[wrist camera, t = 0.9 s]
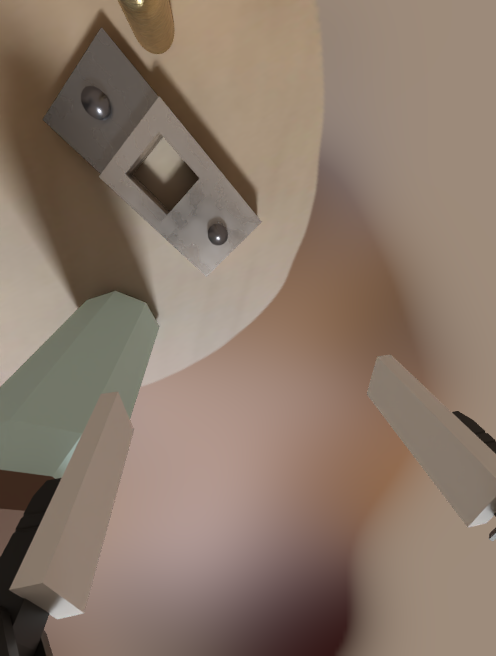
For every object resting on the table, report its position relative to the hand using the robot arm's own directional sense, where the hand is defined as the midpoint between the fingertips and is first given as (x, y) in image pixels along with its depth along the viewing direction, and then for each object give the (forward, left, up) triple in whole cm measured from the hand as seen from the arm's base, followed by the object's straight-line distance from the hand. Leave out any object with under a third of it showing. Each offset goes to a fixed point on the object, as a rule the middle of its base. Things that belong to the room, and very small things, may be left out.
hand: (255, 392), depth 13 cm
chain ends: (-11, +2, -24) cm, 26 cm away
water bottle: (-4, -16, -24) cm, 29 cm away
